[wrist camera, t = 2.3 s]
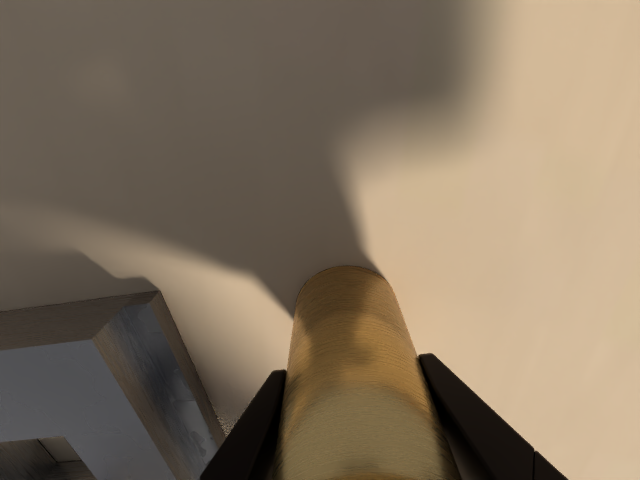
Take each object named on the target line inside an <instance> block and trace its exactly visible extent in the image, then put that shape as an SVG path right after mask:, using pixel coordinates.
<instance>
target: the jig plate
mask: <svg viewBox="0 0 640 480" xmlns="http://www.w3.org/2000/svg"><path fill="white" fill-rule="evenodd" d="M58 436H64V438H65V439H66V440H67V441H68V443H69V444H70V445H71V447H72V448H73V449H74V450H75V452H76V453H77V454H78V456H79V457H80V458H81V459H82V461H72V462H61V463H56V461H55V460H54V459H53V458H52V457H51V456H50V454H49V453H48V452H47V451H46V450H45V448H44V447H43V446H42V445H41V444H40V442H39V441H38V440H37V438H48V437H58ZM225 439H226V437H225V435H224V433H223V431H222V428H221V426H220V424H219V422H218V419H217V417H216V415H215V413H214V410H213V408H212V406H211V404H210V401H209V399H208V397H207V395H206V393H205V390H204V388H203V386H202V384H201V381H200V379H199V377H198V375H197V372H196V370H195V368H194V366H193V363H192V361H191V359H190V357H189V355H188V352H187V350H186V348H185V346H184V343H183V341H182V339H181V337H180V334H179V332H178V330H177V328H176V325H175V323H174V321H173V319H172V317H171V314H170V312H169V310H168V308H167V305H166V303H165V301H164V299H163V296H162V294H161V292H160V291H154V292H146V293H139V294H131V295H124V296H116V297H109V298H102V299H94V300H87V301H79V302H72V303H64V304H57V305H50V306H42V307H35V308H27V309H20V310H12V311H5V312H0V480H198V479H199V480H200V478H199V477H200V475H201V474H202V472H203V471H204V469H205V468H206V466H207V465H208V464H209V462H210V461H211V459H212V458H213V456H214V455H215V453H216V452H217V451H218V449H219V448H220V446H221V445H222V443H223V442H224V440H225Z"/></svg>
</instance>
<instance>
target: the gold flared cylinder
mask: <svg viewBox="0 0 640 480" xmlns="http://www.w3.org/2000/svg"><path fill="white" fill-rule="evenodd" d="M272 480H462V478H461V475H460V472H459V470H458V467H457V464H456V461H455V459H454V456H453V453H452V450H451V448H450V445H449V442H448V439H447V437H446V434H445V431H444V428H443V426H442V423H441V420H440V417H439V415H438V412H437V409H436V406H435V403H434V401H433V398H432V395H431V392H430V390H429V387H428V384H427V381H426V379H425V376H424V373H423V370H422V368H421V365H420V362H419V359H418V357H417V354H416V351H415V348H414V346H413V343H412V340H411V337H410V334H409V332H408V329H407V326H406V323H405V321H404V318H403V315H402V312H401V310H400V307H399V304H398V301H397V299H396V296H395V293H394V291H393V289H392V287H391V286H390V285H389V283H388V282H387V281H386V280H385V279H384V278H383V277H381V276H380V275H379V274H377V273H375V272H373V271H371V270H369V269H366V268H362V267H357V266H338V267H333V268H329V269H326V270H324V271H322V272H320V273H318V274H316V275H315V276H313V277H312V278H311V279H310V280H308V281H307V283H306V284H305V285H304V286H303V287H302V289H301V291H300V293H299V295H298V298H297V301H296V308H295V315H294V322H293V329H292V337H291V344H290V351H289V358H288V365H287V373H286V380H285V387H284V394H283V401H282V409H281V416H280V423H279V430H278V437H277V445H276V452H275V459H274V466H273V473H272Z"/></svg>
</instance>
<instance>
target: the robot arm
mask: <svg viewBox="0 0 640 480" xmlns="http://www.w3.org/2000/svg"><path fill="white" fill-rule="evenodd" d="M418 359H419V362H420V365H421V368H422V370H423V373H424V376H425V379H426V381H427V384H428V387H429V390H430V392H431V395H432V398H433V401H434V403H435V406H436V409H437V412H438V415H439V417H440V420H441V423H442V426H443V428H444V431H445V434H446V437H447V439H448V442H449V445H450V448H451V450H452V453H453V456H454V459H455V461H456V464H457V467H458V470H459V472H460V475H461V478H462V480H568V479H567V478H566V477H565V476H564V475H563V474H562V473H560V472H559V471H558V470H557V469H556V468H555V467H554V466H553V465H552V464H550V463H549V462H548V461H547V460H546V459H545V458H544V457H543V456H542V455H541V454H540V453H539V452H538V451H535V452H534V448H533V447H532V446H531V445H530V444H529V443H528V442H527V441H526V440H525V439H524V438H523V437H521V436H520V435H519V434H518V433H517V432H516V431H515V430H514V429H513V428H512V427H511V426H510V425H509V424H508V423H506V422H505V421H504V420H503V419H502V418H501V417H500V416H499V415H498V414H497V413H496V412H495V411H494V410H493V409H491V408H490V407H489V406H488V405H487V404H486V403H485V402H484V401H483V400H482V399H481V398H480V397H479V396H478V395H476V394H475V393H474V392H473V391H472V390H471V389H470V388H469V387H468V386H467V385H466V384H465V383H464V382H463V381H462V380H460V379H459V378H458V377H457V376H456V375H455V374H454V373H453V372H452V371H451V370H450V369H449V368H448V367H447V366H445V365H444V364H443V363H442V362H441V361H440V360H439V359H438V358H437V357H436V356H435V355H434V354H432V353H427V354H420V355H419V356H418ZM286 373H287V371H286V370H284V369H283V370H274V371H273V372H272V373H271V374H270V375H269V377H268V378H267V380H266V381H265V383H264V384H263V385H262V387H261V388H260V390H259V391H258V393H257V394H256V396H255V397H254V398H253V400H252V401H251V403H250V404H249V406H248V407H247V409H246V410H245V411H244V413H243V414H242V416H241V417H240V419H239V420H238V422H237V423H236V424H235V426H234V427H233V429H232V430H231V432H230V433H229V435H228V436H227V438H226V439H225V440H224V442H223V443H222V445H221V446H220V448H219V449H218V451H217V452H216V453H215V455H214V456H213V458H212V459H211V461H210V462H209V464H208V465H207V466H206V468H205V469H204V471H203V472H202V474H201V475H200V477H199V478H200V480H272V473H273V466H274V459H275V452H276V445H277V437H278V430H279V423H280V416H281V409H282V401H283V394H284V387H285V380H286ZM198 480H199V479H198Z"/></svg>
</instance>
